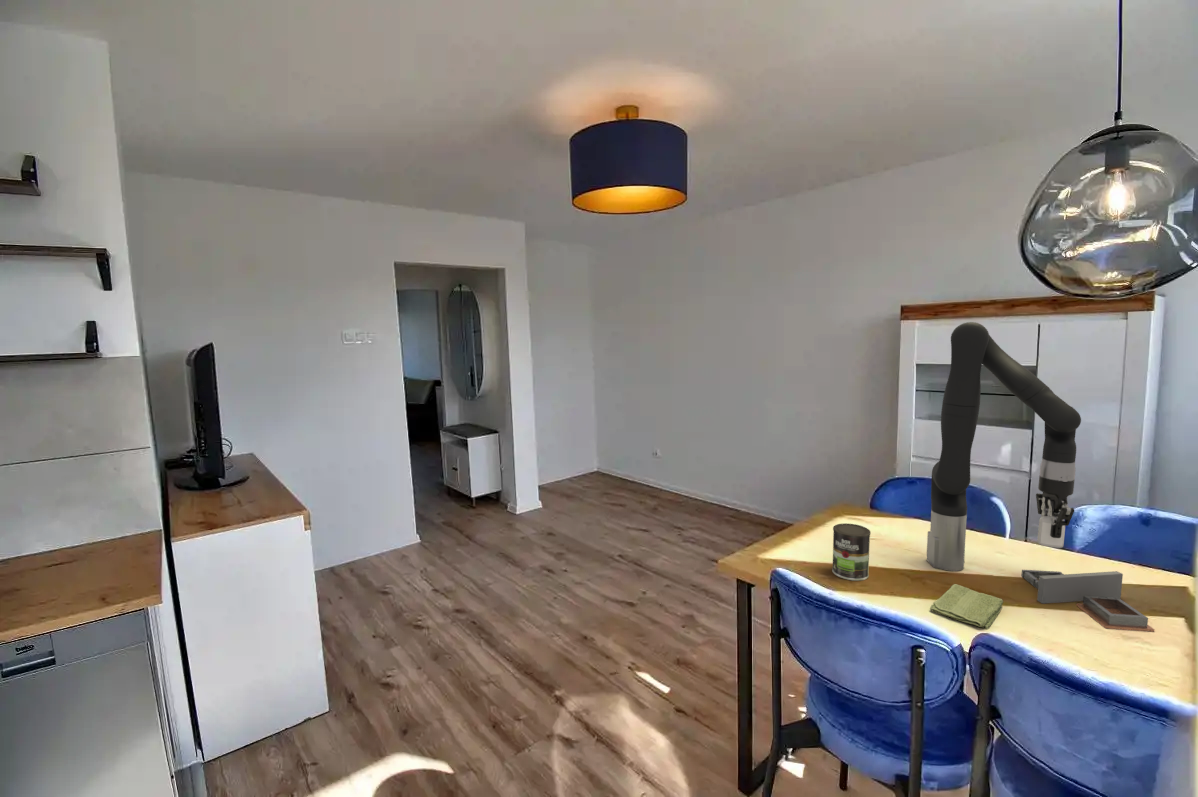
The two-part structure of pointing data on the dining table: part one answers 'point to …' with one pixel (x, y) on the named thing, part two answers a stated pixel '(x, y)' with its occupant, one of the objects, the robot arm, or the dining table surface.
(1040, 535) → the eye dropper bottle
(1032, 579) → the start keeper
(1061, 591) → the grey divider panel
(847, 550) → the coffee can
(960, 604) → the washcloth
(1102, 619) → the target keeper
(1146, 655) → the dining table surface
